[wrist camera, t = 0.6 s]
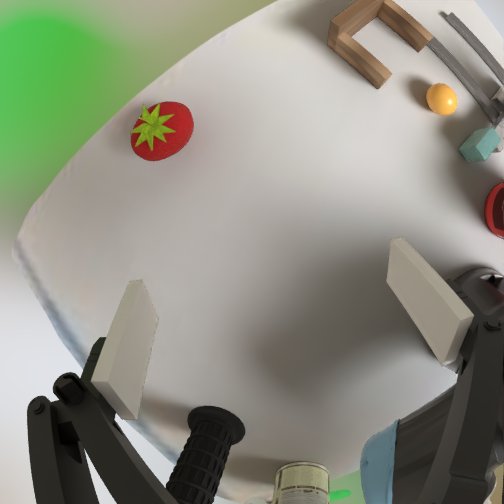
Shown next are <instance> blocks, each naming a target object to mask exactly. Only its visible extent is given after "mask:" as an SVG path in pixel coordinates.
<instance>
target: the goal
mask: <svg viewBox="0 0 504 504" xmlns="http://www.w3.org/2000/svg"><path fill="white" fill-rule="evenodd" d="M375 17H379V18H380V19H381V20H382V21H384V22H385V23H386V24H387V25H388V26H390V27H391V28H392V29H393V30H394V31H395V32H397V33H398V34H399V35H400V36H401V37H402V38H403V39H404V40H406V41H407V42H408V43H409V44H410V45H411V46H412V47H413V48H414V49H415V50H416V51H417V52H419V51H420V50H421V49H423V48H424V46H425V45H426V44H427V43H428V42H429V41H430V40H431V39H432V38H433V37H434V36H433V35H432V34H431V33H430V32H428V31H427V30H426V29H425V28H424V27H423V26H422V25H421V24H420V23H419V22H418V21H416V20H415V19H414V18H413V17H412V16H411V15H410V14H408V13H407V12H406V11H405V10H404V9H402V8H401V7H400V6H399V5H397V4H396V3H395V2H394V1H392V0H357V1H356V2H355V3H353V4H352V5H351V6H349V7H348V8H346V9H345V10H344V11H342V12H341V13H340V14H339V15H337V16H336V17H335V18H333V19H332V20H331V21H330V28H329V35H328V41H327V45H328V46H329V47H330V48H331V49H333V50H334V51H335V52H336V53H338V54H339V55H340V56H341V57H342V58H344V59H345V60H346V61H347V62H348V63H349V64H351V65H352V66H353V67H354V68H355V69H356V70H357V71H358V72H360V73H361V74H362V75H363V76H364V77H365V78H366V79H367V80H368V81H369V82H370V83H372V84H373V85H374V86H375V87H376V88H377V89H379V88H380V87H381V86H382V85H383V84H384V83H385V82H386V81H387V80H388V78H389V77H390V76H391V75H392V73H391V72H390V71H389V70H388V69H387V68H386V67H385V66H384V65H383V64H382V63H381V62H380V61H378V60H377V59H376V58H375V57H374V56H373V55H372V54H371V53H370V52H368V51H367V50H366V49H365V48H364V47H363V46H361V45H360V44H359V43H358V42H357V41H355V40H354V39H353V38H352V36H353V35H354V34H355V33H356V32H358V31H359V30H360V29H361V28H363V27H364V26H365V25H366V24H368V23H369V22H370V21H372V20H373V19H374V18H375Z"/></svg>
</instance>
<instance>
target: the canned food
mask: <svg viewBox="0 0 504 504" xmlns="http://www.w3.org/2000/svg"><path fill="white" fill-rule="evenodd" d="M485 217H486V221H487V224H488V226H489V228H490V230H491V231H492V232H493V233H494V234H495V235H496V236H497V237H499V238H501V239H504V183H501V184H499V185H497V186H495V187H494V188H493V189H492V190H491V192H490V193H489V195H488V197H487V200H486V204H485Z"/></svg>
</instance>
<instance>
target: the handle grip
mask: <svg viewBox="0 0 504 504" xmlns="http://www.w3.org/2000/svg"><path fill="white" fill-rule="evenodd" d="M188 425H189V428H190V430H191V435H190V437H189V438H188V439H187V443H186V444H185V446H184V450H183V451H182V452H181V454H180V457H179V458H178V461H177V465H176V466H175V467H174V469H173V472H172V473H171V475H170V478H169V481H168V482H167V483H166V489H167V491H168V492H169V493H170V494H171V495H172V496H173V498H174V499H175V500H176V501H177V502H178V503H179V504H212V503H213V502H214V497H215V494H216V492H217V489H218V486H219V484H220V482H219V481H220V479H221V477H222V474H223V470H224V468H225V463H226V461H227V457H228V455H229V450H230V447H231V445H234V444H236V443H238V442H240V441H241V440H242V439H243V437H244V435H245V427H244V425H243V423H242V422H241V420H240V419H239V418H238V417H237V416H235V415H234V414H232V413H231V412H229V411H227V410H225V409H222V408H219V407H214V406H202V407H198V408H195V409H193V410H192V411H191V412H190V413H189V415H188Z"/></svg>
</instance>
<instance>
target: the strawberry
mask: <svg viewBox="0 0 504 504" xmlns="http://www.w3.org/2000/svg"><path fill="white" fill-rule="evenodd" d="M138 118H139V119H138V120H137V122H136V124H135V126H134V128H133V131H131V132H130V133H132V135H131V145H132V148H133V150H134V152H135V153H136V154H137V155H138V156H140V157H141V158H143V159H145V160H148V161H158V160H162V159H165V158H167V157H169V156H171V155H173V154H175V153H177V152H178V151H180V150H181V149H182V148H183V147H184V146H185V145H186V143H187V142H188V141H189V139H190V137H191V135H192V132H193V127H194V122H193V118H192V115H191V113H190V111H189V109H188V108H187V107H186V106H185V105H183V104H181V103H178V102H162V103H159V104H156V105H154V106H152V107H150V108H149V109H148V110H147V109H146V107H145V105H144V104H143V113H142V115H141V116H140V117H138Z"/></svg>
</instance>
